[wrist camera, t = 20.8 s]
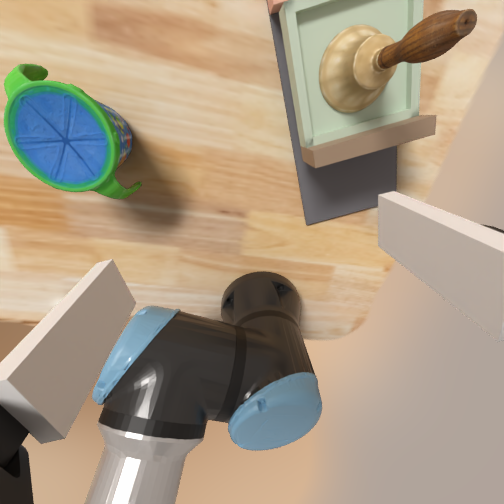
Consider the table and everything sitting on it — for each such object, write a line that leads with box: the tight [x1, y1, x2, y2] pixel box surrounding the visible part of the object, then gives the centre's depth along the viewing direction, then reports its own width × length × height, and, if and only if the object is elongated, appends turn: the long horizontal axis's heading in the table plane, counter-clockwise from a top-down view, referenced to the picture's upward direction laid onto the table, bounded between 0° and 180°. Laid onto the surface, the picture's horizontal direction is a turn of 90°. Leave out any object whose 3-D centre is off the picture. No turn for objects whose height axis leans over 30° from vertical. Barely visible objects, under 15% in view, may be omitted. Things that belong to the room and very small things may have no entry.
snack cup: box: [4, 64, 141, 199], centre depth 31 cm, size 16×10×10 cm
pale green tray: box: [279, 0, 436, 168], centre depth 30 cm, size 16×14×8 cm
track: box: [267, 0, 397, 225], centre depth 34 cm, size 30×15×3 cm, turn 15°
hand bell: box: [319, 9, 477, 113], centre depth 22 cm, size 8×8×16 cm
